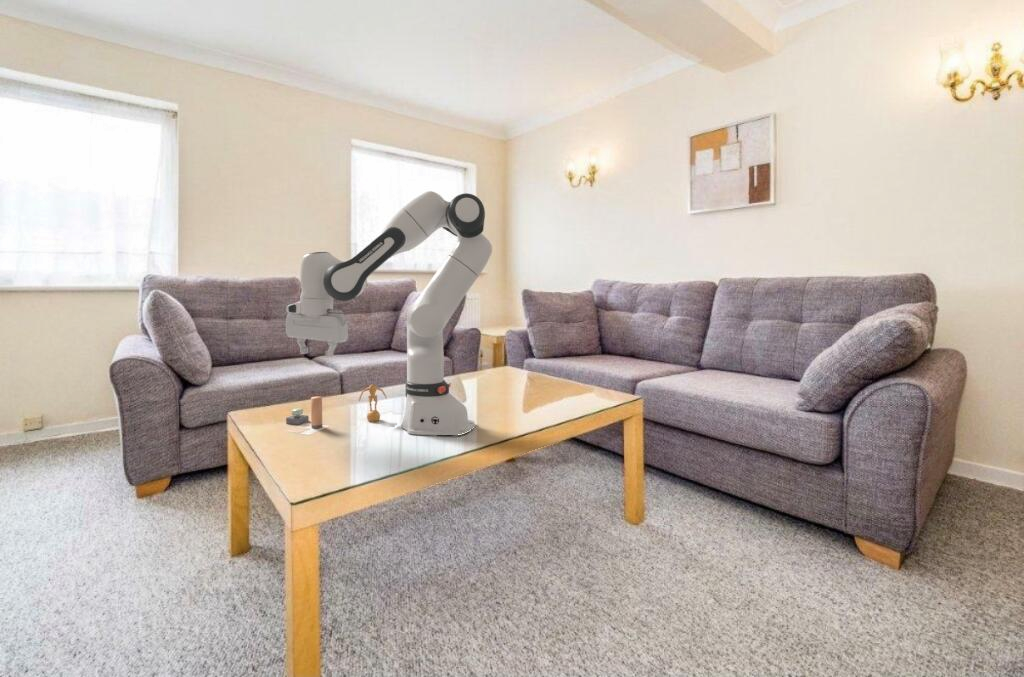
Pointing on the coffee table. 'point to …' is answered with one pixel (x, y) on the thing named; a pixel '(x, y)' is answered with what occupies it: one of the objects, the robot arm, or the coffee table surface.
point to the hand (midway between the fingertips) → (316, 355)
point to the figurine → (373, 414)
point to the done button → (297, 412)
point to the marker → (316, 412)
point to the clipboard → (303, 428)
